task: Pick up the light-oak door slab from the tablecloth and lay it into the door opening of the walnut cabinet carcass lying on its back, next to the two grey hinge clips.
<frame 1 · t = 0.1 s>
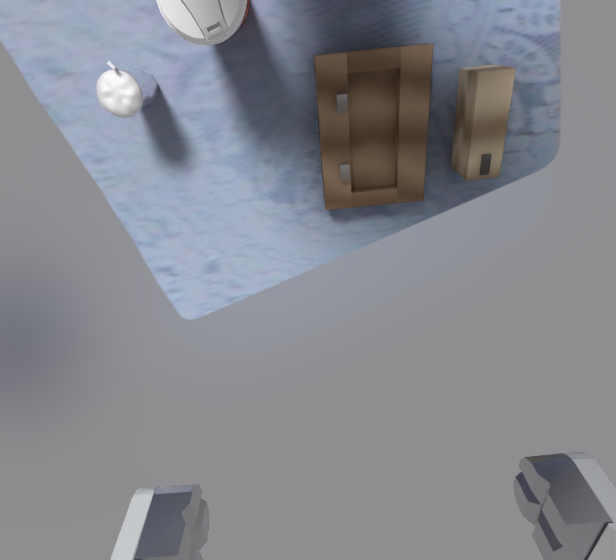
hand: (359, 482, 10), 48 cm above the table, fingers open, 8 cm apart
door: (470, 119, 51), on the table
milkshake: (144, 82, 48), on the table
paper cup: (223, 1, 44), on the table
carcass: (369, 129, 52), on the table
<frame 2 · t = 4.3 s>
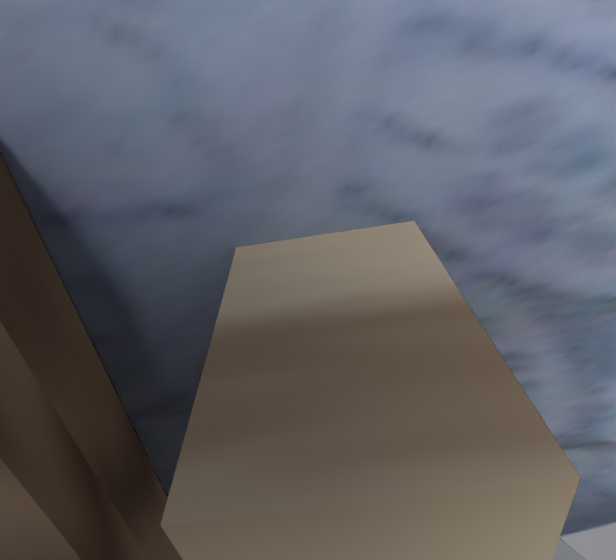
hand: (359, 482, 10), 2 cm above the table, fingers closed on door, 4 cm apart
door: (349, 413, 12), on the table, touching gripper
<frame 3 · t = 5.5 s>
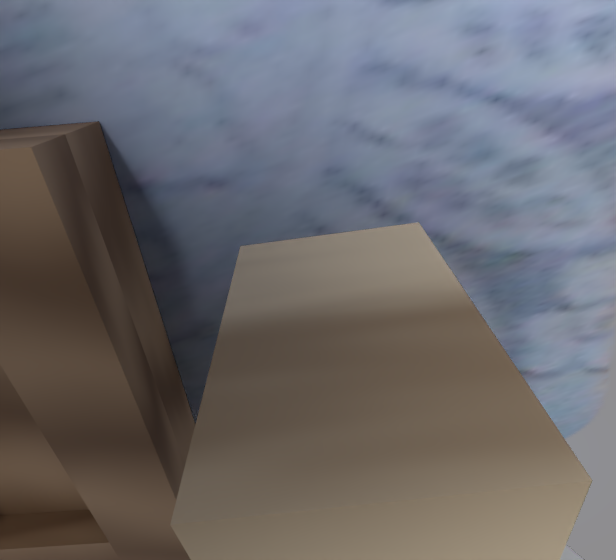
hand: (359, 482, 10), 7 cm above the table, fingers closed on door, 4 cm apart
door: (349, 414, 12), point 4 cm above the table, touching gripper
carcass: (16, 366, 16), on the table
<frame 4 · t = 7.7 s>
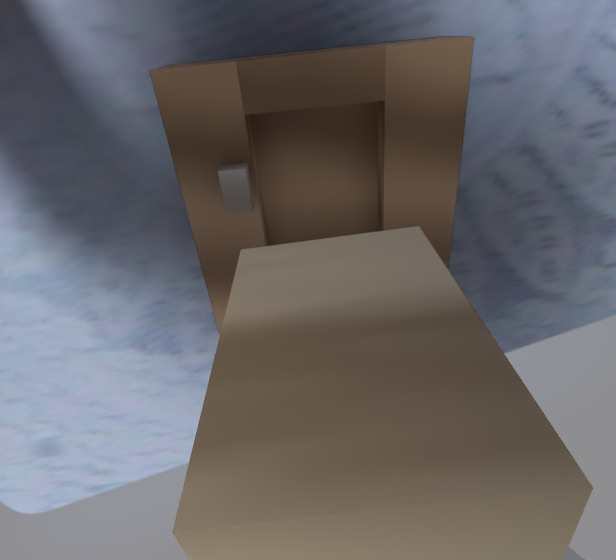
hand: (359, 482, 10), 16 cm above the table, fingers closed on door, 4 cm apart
door: (349, 416, 12), point 14 cm above the table, touching gripper
carcass: (321, 225, 24), on the table
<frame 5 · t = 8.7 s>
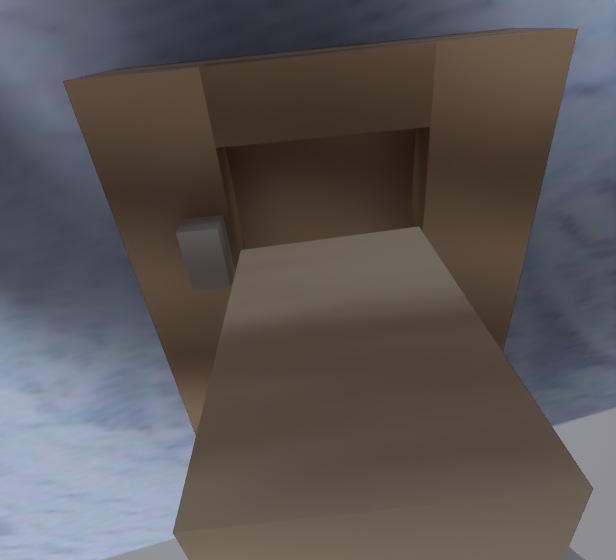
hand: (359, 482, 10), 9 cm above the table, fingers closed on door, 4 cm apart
door: (349, 417, 12), point 7 cm above the table, touching gripper
carcass: (328, 281, 18), on the table
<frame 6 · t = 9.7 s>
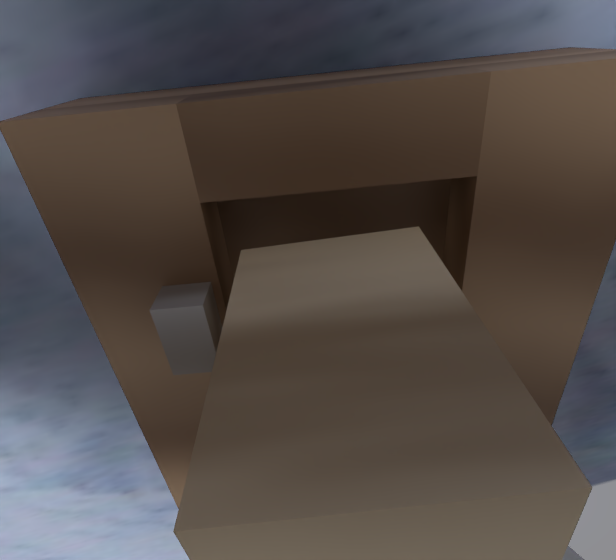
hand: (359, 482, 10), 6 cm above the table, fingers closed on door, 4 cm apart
door: (349, 417, 12), point 4 cm above the table, touching gripper
carcass: (338, 336, 15), on the table
when the fingers open (6 cm above the table, at t = 9.7 s): door drops 2 cm, resting on carcass.
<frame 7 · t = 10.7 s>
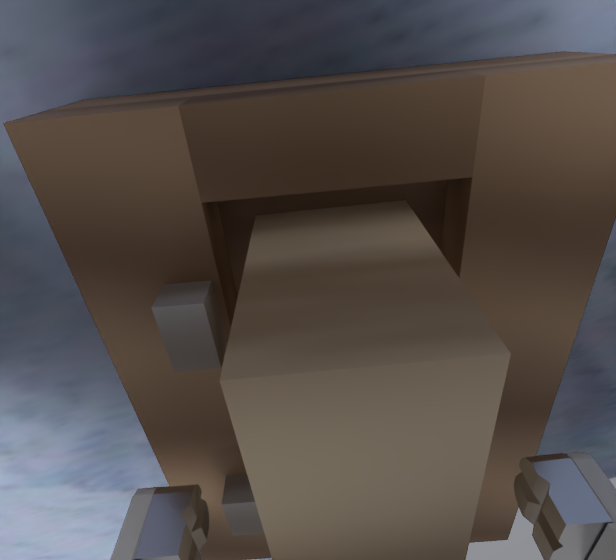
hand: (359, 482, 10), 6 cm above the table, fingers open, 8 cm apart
door: (342, 372, 14), point 2 cm above the table, touching carcass
carcass: (337, 335, 15), on the table
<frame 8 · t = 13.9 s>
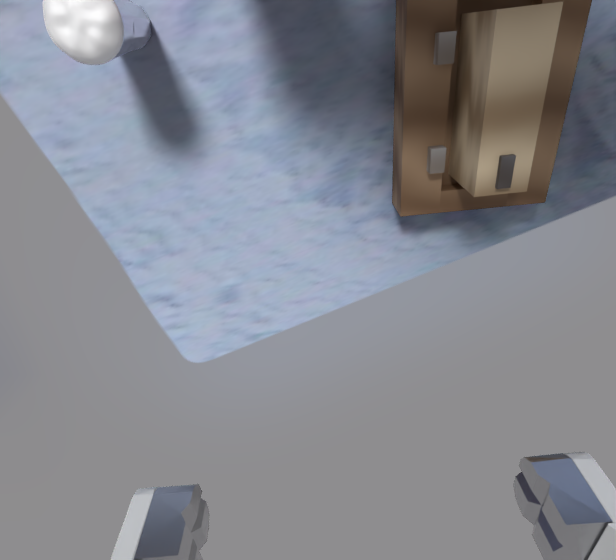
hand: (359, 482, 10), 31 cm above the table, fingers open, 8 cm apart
door: (479, 98, 33), point 2 cm above the table, touching carcass
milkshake: (130, 18, 31), on the table
carcass: (469, 95, 34), on the table
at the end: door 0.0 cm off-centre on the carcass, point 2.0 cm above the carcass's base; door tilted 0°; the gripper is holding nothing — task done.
